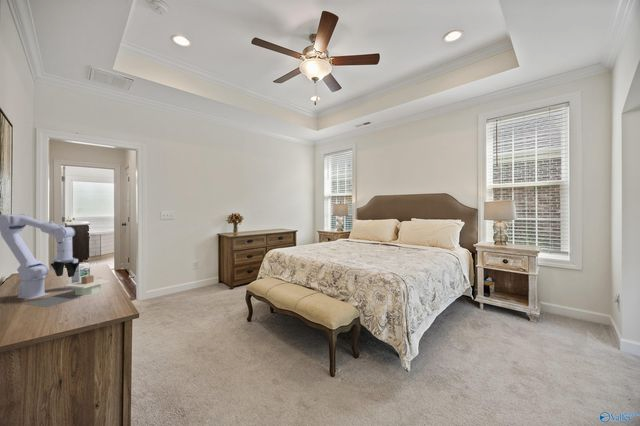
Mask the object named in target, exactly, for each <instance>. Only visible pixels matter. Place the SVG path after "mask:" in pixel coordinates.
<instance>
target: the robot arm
mask: <svg viewBox="0 0 640 426" xmlns="http://www.w3.org/2000/svg"><path fill="white" fill-rule="evenodd" d="M27 226H29V227H33V228H37V229H40V231H41V232H42V233H45V234H48V235H51V236H53V237H54V238H55V242H56V257H54V258H51V263H50V266H51V268H52V269H53V270H54V273H55V276H56V277H61V276H63V274H64V268H66V273H67V277H68V278H71V277H73V276H74V274H75V271H76V268H77V267H78V265H79V263H80V262H79V258H75V257H73V255H74V253H73V237H75V235H76V230H75V228H73V227H72V226H64V224H59V223H58V224H57V223H55V221H46V222H45V221H41V220H39V219H36V218H34V217H31V216H30V215H28V214H27V215H26V214H23V213H20V214H0V235H1V238H2V239H3V240H4V242H5V243H6V245H7V246H8V248H9V250H10V251H11V252H12V254H13V256H14V257H15V258H16V260H17V262H18V263H19V266H18V268H17V269H16V270H17V273H18V278H19V279H20V280H21V281H20V283H19V284H18V296H16V298H18V299H28V300H32V299H36V298H39V297H44V296H47V295H50V293H49V292H47V293H46V292H45V290H46V289H45V278H46V277H47V275H48V274H49V272H50V268H49V267H48V266H47V265H46V264H45V263H43V261H42V260H38V259H36V258H35V257H34V254H33V253H32V252H31V250H30V249H29V247H28V245H27V243H25V241H24V239H23V238H22V237H21V235H20V232H22V231H23V230H24V228H25V227H27Z"/></svg>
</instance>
